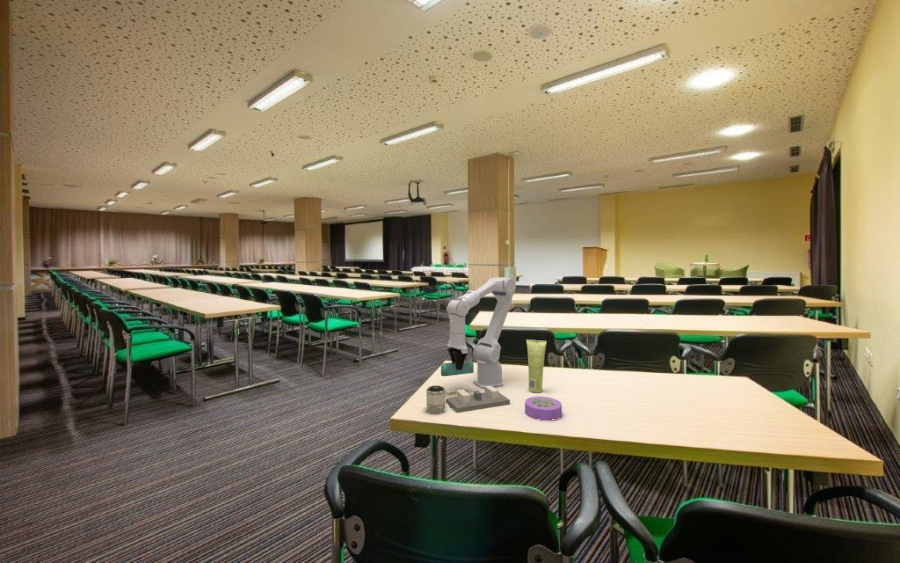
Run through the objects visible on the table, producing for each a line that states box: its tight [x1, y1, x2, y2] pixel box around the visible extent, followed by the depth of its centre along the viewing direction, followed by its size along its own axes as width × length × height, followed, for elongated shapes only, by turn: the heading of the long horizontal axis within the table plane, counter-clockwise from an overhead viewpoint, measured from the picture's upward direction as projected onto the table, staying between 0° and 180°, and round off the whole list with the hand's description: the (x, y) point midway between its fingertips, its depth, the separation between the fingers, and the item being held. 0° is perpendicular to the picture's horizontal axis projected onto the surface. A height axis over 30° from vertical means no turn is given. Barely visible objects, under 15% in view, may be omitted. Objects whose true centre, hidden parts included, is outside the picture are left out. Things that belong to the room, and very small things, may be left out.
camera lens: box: [426, 385, 446, 415], centre depth 130 cm, size 6×6×8 cm
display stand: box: [445, 386, 511, 414], centre depth 136 cm, size 20×10×4 cm, turn 112°
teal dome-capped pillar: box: [440, 360, 475, 377], centre depth 146 cm, size 13×3×4 cm, turn 111°
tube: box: [525, 339, 547, 393], centre depth 148 cm, size 6×5×20 cm
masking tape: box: [524, 395, 563, 421], centre depth 128 cm, size 12×12×4 cm
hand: (457, 368), depth 146 cm, fingers closed on teal dome-capped pillar, 3 cm apart
